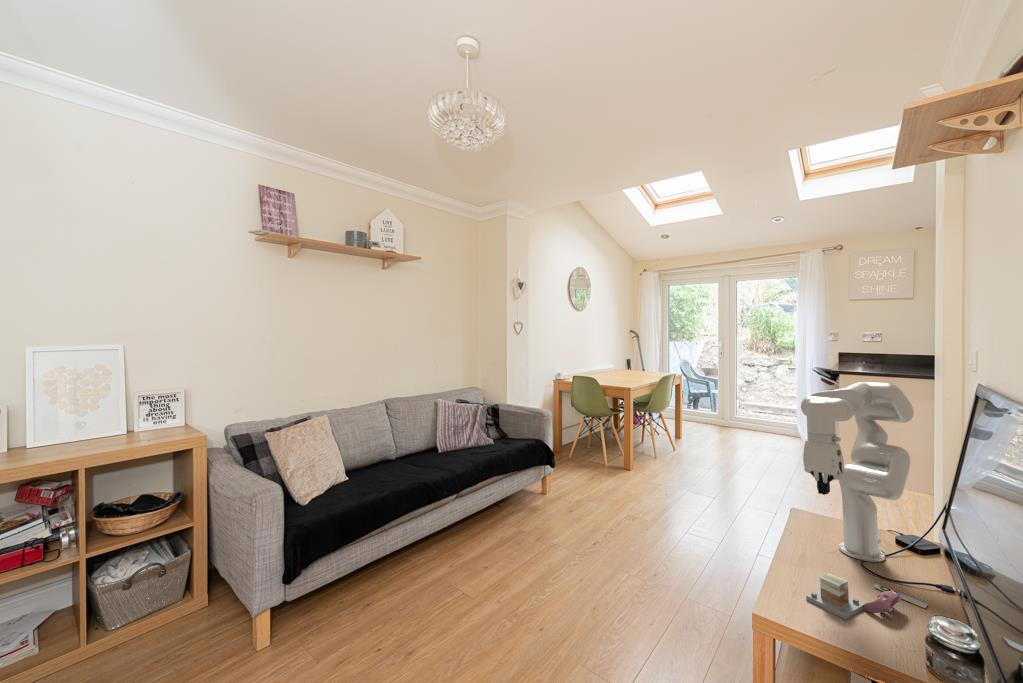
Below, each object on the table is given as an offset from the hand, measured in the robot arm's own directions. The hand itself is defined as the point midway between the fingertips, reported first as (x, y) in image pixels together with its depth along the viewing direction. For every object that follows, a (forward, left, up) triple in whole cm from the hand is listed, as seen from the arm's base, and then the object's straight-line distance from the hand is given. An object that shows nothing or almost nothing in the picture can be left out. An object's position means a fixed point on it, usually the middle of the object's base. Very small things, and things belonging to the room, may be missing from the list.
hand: (823, 493), depth 132 cm
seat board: (+14, +9, -27) cm, 32 cm away
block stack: (+14, +9, -26) cm, 31 cm away
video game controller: (+5, +17, -27) cm, 33 cm away
